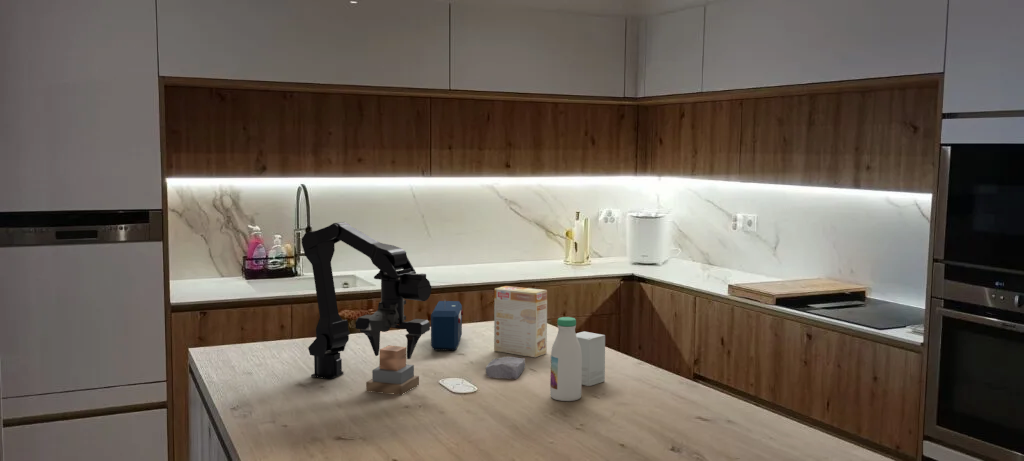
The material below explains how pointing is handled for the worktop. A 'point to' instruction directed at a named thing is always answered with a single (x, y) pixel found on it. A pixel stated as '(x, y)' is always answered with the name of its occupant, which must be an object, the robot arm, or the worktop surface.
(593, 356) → the supplement box
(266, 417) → the worktop surface
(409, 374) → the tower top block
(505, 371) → the stone block
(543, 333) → the coffeecake box
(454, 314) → the radio
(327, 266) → the robot arm
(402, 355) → the terracotta cube
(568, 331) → the milk bottle
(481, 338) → the worktop surface
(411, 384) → the tower base block
